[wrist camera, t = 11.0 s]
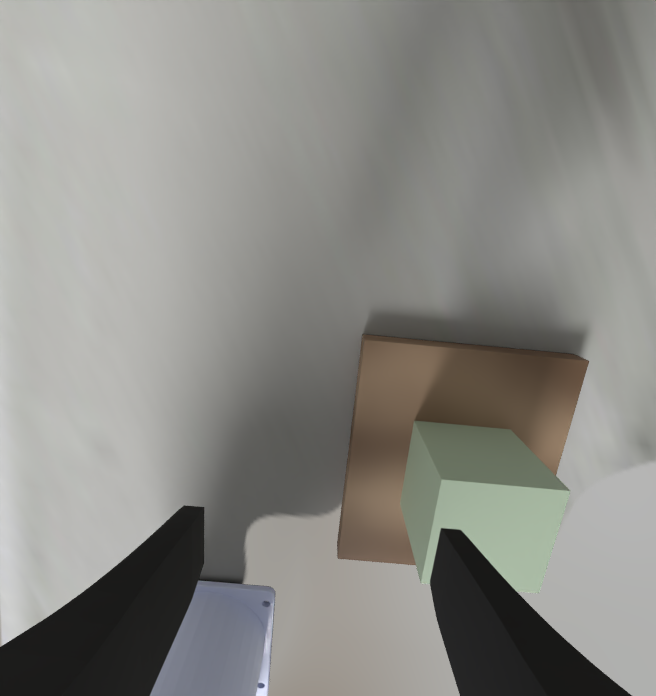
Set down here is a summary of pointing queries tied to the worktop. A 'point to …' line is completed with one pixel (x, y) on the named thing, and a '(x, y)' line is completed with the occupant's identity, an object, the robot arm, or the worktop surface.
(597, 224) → the worktop surface
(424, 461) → the green cube
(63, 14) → the worktop surface
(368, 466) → the cutting board
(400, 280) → the worktop surface
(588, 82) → the worktop surface
